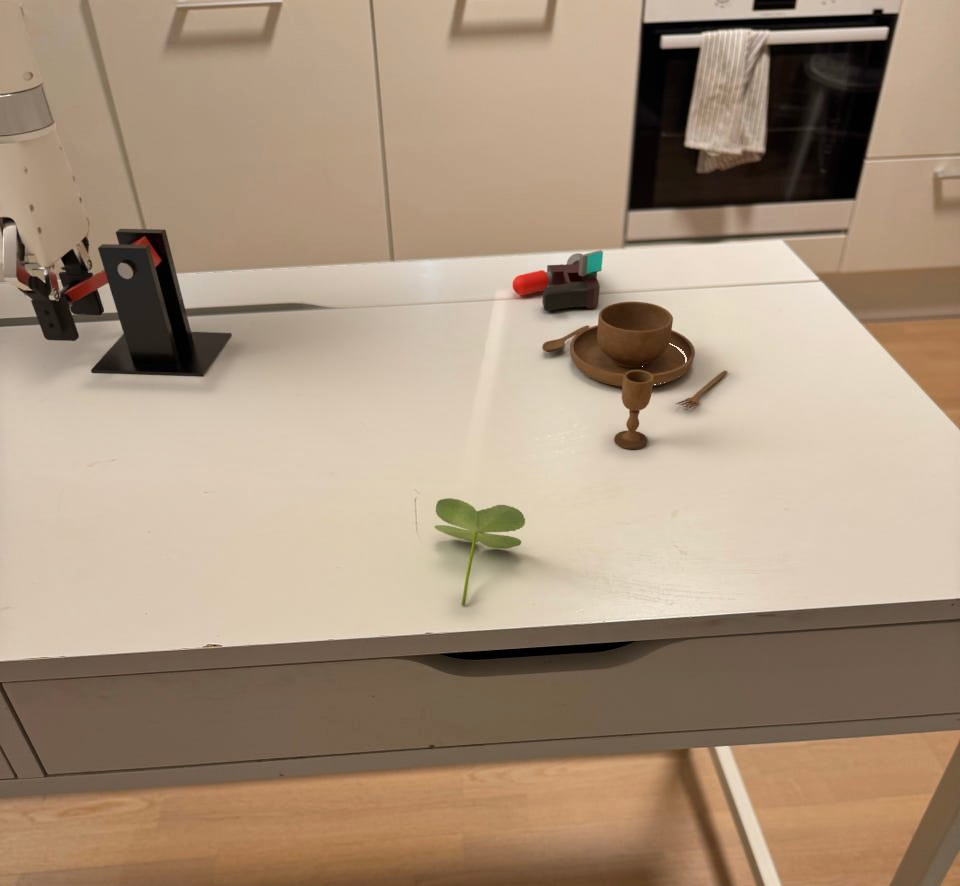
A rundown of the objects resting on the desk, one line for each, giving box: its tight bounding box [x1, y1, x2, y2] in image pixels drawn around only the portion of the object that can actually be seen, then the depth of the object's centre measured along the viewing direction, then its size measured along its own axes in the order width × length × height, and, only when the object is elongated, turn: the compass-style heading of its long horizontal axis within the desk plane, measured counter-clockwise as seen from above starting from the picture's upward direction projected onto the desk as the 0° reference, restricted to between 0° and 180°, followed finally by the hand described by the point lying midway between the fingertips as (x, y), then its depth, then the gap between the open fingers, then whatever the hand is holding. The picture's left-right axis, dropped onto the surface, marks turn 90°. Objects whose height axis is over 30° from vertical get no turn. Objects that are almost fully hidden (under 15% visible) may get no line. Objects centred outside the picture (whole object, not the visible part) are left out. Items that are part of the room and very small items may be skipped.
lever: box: [59, 236, 162, 308], centre depth 81 cm, size 11×5×2 cm, turn 85°
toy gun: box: [512, 249, 604, 312], centre depth 96 cm, size 10×12×5 cm
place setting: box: [541, 301, 728, 450], centre depth 80 cm, size 18×20×6 cm
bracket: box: [90, 228, 232, 378], centre depth 82 cm, size 11×9×12 cm
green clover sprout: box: [434, 497, 526, 607], centre depth 60 cm, size 7×8×7 cm
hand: (75, 324), depth 84 cm, fingers closed on lever, 5 cm apart
